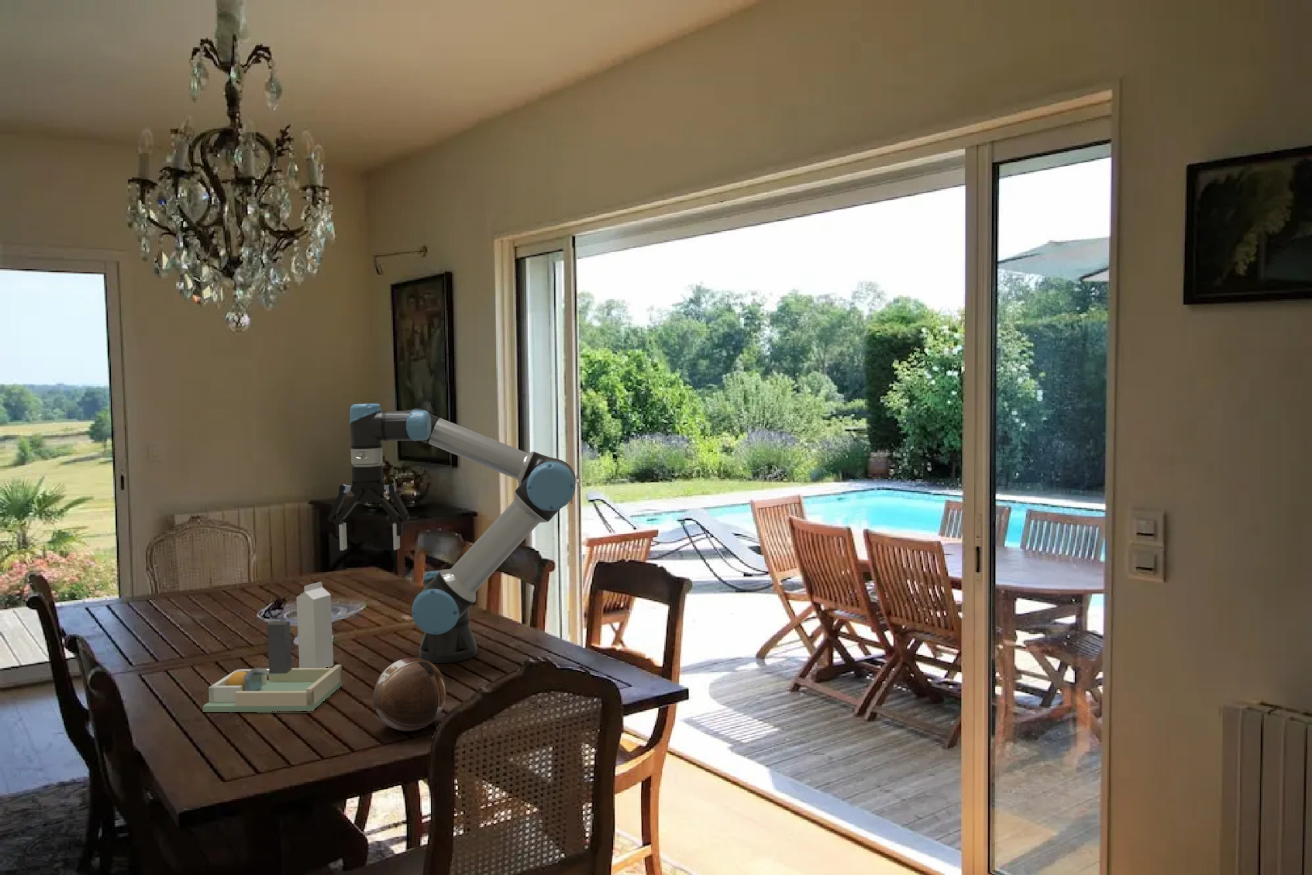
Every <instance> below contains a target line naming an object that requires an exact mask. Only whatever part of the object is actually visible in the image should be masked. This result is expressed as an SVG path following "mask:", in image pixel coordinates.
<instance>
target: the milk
mask: <svg viewBox="0 0 1312 875" xmlns="http://www.w3.org/2000/svg"><path fill="white" fill-rule="evenodd" d="M303 589H304V590H303V592H302V593H300V595H298V596H296V615H297V616H296V618H297V639H298V640H297V641H298V643H297V644H298V645H297V646H298V662H299V663H298V668H326V667H328V668H332V667H334V647H333V646H334V644H333V643H334V642H333V624H332V623H333V620H332V616H333V615H332V596H331V595H332V594H331V593H330V592H329V591H328V590H327V589H325V588H324V587H323V582H322V581H319V582H316V583H314V582H313V583H311V584H307V585H305V586H304V587H303Z"/></svg>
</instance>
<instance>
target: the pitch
mask: <svg viewBox="0 0 1312 875" xmlns="http://www.w3.org/2000/svg"><path fill="white" fill-rule="evenodd" d="M251 669H252V668H249V669H248V668H244V669H243V668H238V669H235V670H233V672H231V673H229V674H227V675H226V676H224V677H223V678H221V679H220V680H218V681H216V682H215V683H213V684H212V685H210V686H209V687H208V702H207V703H204V705H203V706H202V713H203V712H230V714H231V712H257V713H278V712H277V711H313V710H314V709H315V708H316V707H317V706H319V705H320V704H321V703H322V702H323V701H325V699H326V698H328V697H329V696H330V695H331V694H332V693H334V692H335V691H336V690H337V689H338V690H340V689H341V688H340V686H342V687H343V668H342V664H335V665H333V666H332V667H328V668H299V667H292V670H290V671H289V672H288V673H285V674H281V675H262V687H261V688H260V689H258V690H257V691H242V686H228V679H229V677H230V676H231V675H232V674H233V673H235V672H238V671H243V672H246V673H247V674H248V673H249V672H250V670H251ZM339 688H340V689H339ZM338 690H337V691H338ZM337 691H336V692H337ZM336 692H335V693H336ZM335 693H334V694H335ZM330 697H331V696H330ZM330 697H329V698H330ZM329 698H328V699H329ZM325 702H326V701H325ZM322 704H323V703H322ZM322 704H321V705H322ZM321 705H320V706H321ZM320 706H319V707H320ZM272 711H273V712H272ZM274 711H275V712H274ZM314 711H315V710H314ZM314 711H313V712H314Z"/></svg>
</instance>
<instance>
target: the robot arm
mask: <svg viewBox="0 0 1312 875" xmlns="http://www.w3.org/2000/svg"><path fill="white" fill-rule="evenodd" d="M349 408H350V409H349V422H348V424H349V433H350V436H349V437H350V459H351V461H350V463H351V464H352V467H351V482H352V483H351V485H348V484H346V483H345V484H340V485H339V488H338V495H337V498H336V500H335V501H334V504H333V506H332V508H331V510H330V513H329V515H328V516H327V521H328V522H329V523H333V524H334V525H335V536H336V537H337V538H339V551H345V550H347V549H348V541H347V540H348V539H347V538H348V537H347V523H346V522H344V521H345V520H346V518H347V517H348V516H349V515H350V513H351V512H352V511H353V509H354V508H355V507H356V506H357V504H358V503H361V504H362V503H367V502H368V503H375V502H376V503H377V504H379V506H381V507H382V508H383V510H385V512H386V513H387V514H388V515H389V516H390V518H392V519H393V521H394V523H393V524H392V536H393V537H392V538H393V551H396V550H398V549H401V539H400V538H401V536H403V534H404V522H407V521H409V520H410V518H411V515H410V513H409V511H408V510H407V508H406V506H405V504H404V502H403V500H402V498H401V497H400V495H399V493H398V487H397V483H391V484H384V466H383V465H382V463H383V460H384V459H383V442H389V441H390V442H391V441H392V442H397V441H398V442H399V441H400V442H401V441H402V442H405V441H406V442H407V441H409V442H410V441H413V442H417V441H421V442H423V443H425V444H427V445H428V444H429V445H431V446H434V447H436V448H439V449H441V450H443V451H446V452H448V453H451V454H453V455H455V456H458V457H460V458H463V459H465V460H468V461H470V462H474V463H475V464H477V465H480V466H483V467H485V468H488V469H490V470H493V471H495V472H498V473H500V474H502V475H505V476H508V477H510V478H512V479H515V480H517V482H518V484H519V486H518V487H517V488H516V489H515V490H514V495H513V496H514V500H513V501H512V502H511V503H510V504H509V505H508V507H506V508H505V509H504V511H502V513H501V514H500V515H499V516H498V517H497V518H496V519H495V520H494V522H493V523H492V524H491V525H490V526H489V527H488V528H487V529H486V530H485V531H484V533H482V535H481V536H479V538H477V540H476V541H475V542H474V543H473V544H472V545H471V546H470V547H469V549H468V550H467V551H466V552H464V554H463V555H462V556H461V557H460V558H459V559H458V560H457V561H456V562H455V563H454V565H453V566H452V567H451V568H449V569H448V568H447V569H440V570H431V571H426V572H425V573H424V574H423V580H422V583H423V589H422V590H421V591H420V592H419V593H418V594H417V595H416V596H415V597H414V600H413V601H412V607H411V617H412V620H413V622H414V624H415V625H416V627H417V628H419V629H420V631H422V632H424V633H423V636H422V639H421V642H420V646H419V650H418V652H419V658H420V659H424V660H426V661H429V662H430V663H432V664H450V663H457V662H463V661H468V660H469V659H472V658H474V657H475V656H476V655H478V645H477V642H476V639H475V636H474V634H473V630H472V629H471V625H470V607H471V606H472V605H474V603H475V602H476V599H477V597H476V595H477V593H476V592H477V591H478V590H479V589H480V588H481V587H482V586H483V584H485V582H486V581H487V580H488V579H489V578H490V577H491V576H492V575H493V573H494V572H495V571H496V570H497V569H498V568H499V567H500V566H501V565H502V564H503V563H504V561H505V560H507V558H508V557H509V556H510V555H512V553H513V552H514V551H515V550H516V549H517V547H518V546H520V544H521V543H522V542H523V541H524V540H525V539H526V538H527V537H528V536H529V535H530V534H531V532H532V531H533V530H534V529H535V528H536V527H537V526H538V525H539V524H540V523H549V522H550V521H551V520H552V519H553V517H554V516H555V515H556V514H557V513H558V512H559V511H560V510H562V508H564V507H565V506H567V505H568V504H569V503H570V502H571V501H572V499H573V497H574V495H575V491H576V484H577V483H576V479H577V478H576V474H575V472H574V469H573V468H572V466H571V465H570V464H568V463H567V462H566V461H564V460H562V459H558V458H555V457H552V456H551V457H550V456H547V455H546V454H545V455H544V454H542V453H539V452H537V451H530V452H526V451H524V450H521V449H518V448H515V447H514V446H512V445H508V444H506V443H503V442H500V441H498V440H496V439H494V438H491V437H488V436H486V435H483V434H482V433H478V432H476V431H473V430H471V429H468V428H466V427H464V426H461V425H459V424H456V423H454V422H451V421H448V420H446V419H443V418H441V417H439V416H436V415H434V414H432V413H429V411H427V410H425V409H421V408H413V409H409V410H408V409H407V410H391V411H387V410H383V409H382V408H381V404H380V403H354V404H352V405H351V406H350V407H349ZM350 491H351V493H352V494H353V497H352V498H351V499H350V501H349V502H348V503H347V505H346V506H345V507H344V509H343V510H342V511H341V512H340V510H341V508H342V506H343V504H344V502H345V499H346V497H347V494H349V493H350ZM385 491H386V492H387V493H388V494H389V496H390V498H391V500H392V501H393V503H394V505H395V507H396V509H397V510H396V509H395V508H394V507H393V506H392V504H391V503H390V502H389V501H388V500H387V498H386V496H385V495H384V492H385ZM339 513H340V514H339Z"/></svg>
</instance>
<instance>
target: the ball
mask: <svg viewBox="0 0 1312 875" xmlns="http://www.w3.org/2000/svg"><path fill="white" fill-rule="evenodd" d="M246 674H247V673H246V672H243V671H238V672H235V673H233V674H232V675H231V676H230V677H229V679H228V686H242V691H245V682H244V676H245V675H246Z"/></svg>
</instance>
